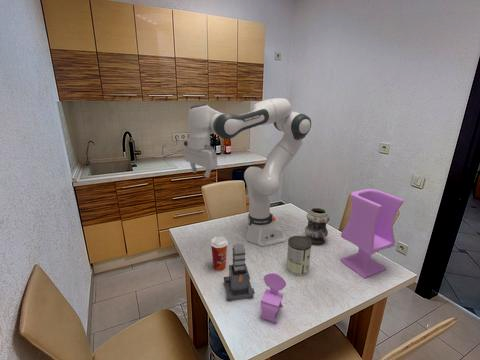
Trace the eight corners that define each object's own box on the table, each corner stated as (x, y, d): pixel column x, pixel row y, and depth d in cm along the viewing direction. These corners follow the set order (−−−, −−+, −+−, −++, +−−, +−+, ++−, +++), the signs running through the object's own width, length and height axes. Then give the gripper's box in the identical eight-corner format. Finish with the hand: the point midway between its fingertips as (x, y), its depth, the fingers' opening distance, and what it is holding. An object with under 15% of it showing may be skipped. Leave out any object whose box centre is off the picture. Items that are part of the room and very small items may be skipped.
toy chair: (256, 317, 91) (258, 283, 86) (264, 300, 99) (266, 267, 94) (279, 325, 88) (282, 290, 83) (285, 307, 96) (288, 274, 91)
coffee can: (287, 259, 123) (289, 233, 119) (309, 264, 120) (312, 237, 116) (284, 272, 114) (286, 245, 110) (307, 278, 111) (310, 250, 106)
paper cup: (221, 274, 113) (221, 247, 108) (207, 268, 116) (206, 241, 112) (231, 265, 119) (231, 238, 114) (218, 259, 123) (217, 234, 118)
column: (242, 281, 105) (243, 243, 100) (244, 288, 101) (245, 249, 96) (232, 282, 105) (232, 244, 99) (234, 289, 101) (234, 250, 95)
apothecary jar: (322, 234, 146) (326, 205, 140) (329, 246, 134) (334, 215, 129) (301, 234, 145) (304, 205, 140) (307, 246, 134) (310, 215, 128)
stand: (248, 279, 110) (249, 258, 106) (254, 298, 100) (255, 276, 96) (223, 282, 108) (223, 261, 104) (227, 301, 98) (226, 279, 94)
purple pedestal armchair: (364, 280, 110) (379, 206, 99) (337, 260, 123) (347, 192, 112) (388, 270, 116) (405, 199, 105) (360, 252, 129) (372, 187, 118)
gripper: (220, 146, 104) (221, 178, 108) (192, 139, 118) (193, 168, 122) (208, 148, 100) (209, 181, 104) (180, 141, 114) (182, 170, 118)
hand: (200, 174), depth 113 cm, fingers open, 8 cm apart
